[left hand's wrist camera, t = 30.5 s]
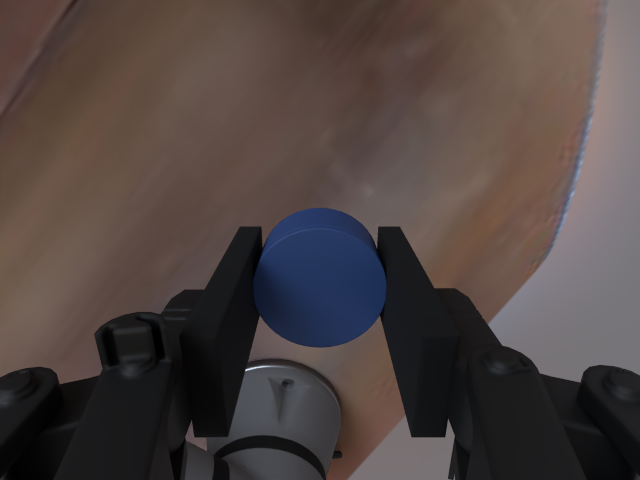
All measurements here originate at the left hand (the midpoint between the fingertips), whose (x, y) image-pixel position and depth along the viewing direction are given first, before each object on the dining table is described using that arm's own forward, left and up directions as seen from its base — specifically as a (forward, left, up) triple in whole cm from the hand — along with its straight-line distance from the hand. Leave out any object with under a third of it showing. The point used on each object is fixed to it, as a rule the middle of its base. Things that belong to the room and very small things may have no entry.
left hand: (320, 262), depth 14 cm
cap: (0, 0, +2) cm, 2 cm away
